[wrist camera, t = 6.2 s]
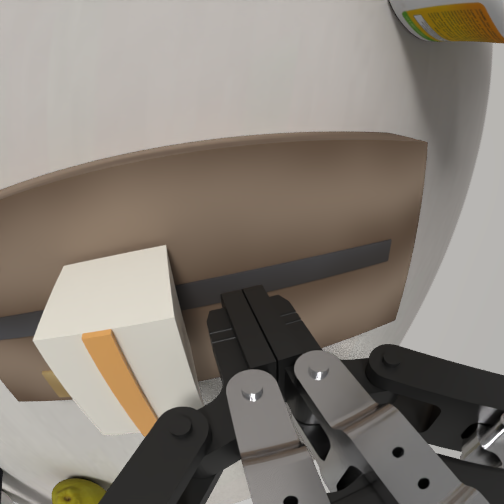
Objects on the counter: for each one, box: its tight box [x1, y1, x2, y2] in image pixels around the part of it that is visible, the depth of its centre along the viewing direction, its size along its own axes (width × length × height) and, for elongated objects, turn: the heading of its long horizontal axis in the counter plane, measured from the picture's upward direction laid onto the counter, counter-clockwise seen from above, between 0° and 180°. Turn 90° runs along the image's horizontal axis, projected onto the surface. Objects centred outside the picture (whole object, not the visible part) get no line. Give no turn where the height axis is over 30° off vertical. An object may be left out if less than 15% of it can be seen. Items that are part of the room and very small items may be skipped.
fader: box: [33, 245, 204, 437], centre depth 9 cm, size 5×4×4 cm
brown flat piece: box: [0, 132, 428, 401], centre depth 13 cm, size 11×24×3 cm, turn 94°
